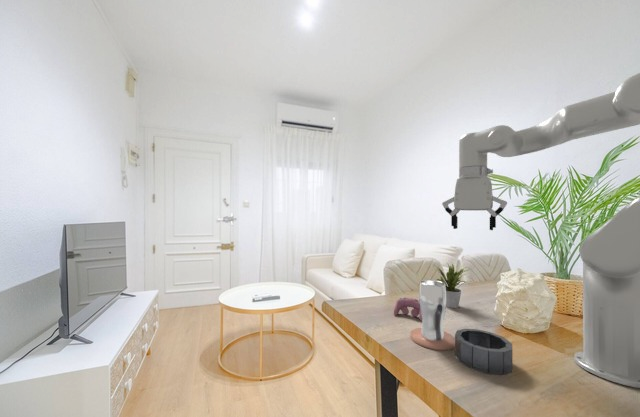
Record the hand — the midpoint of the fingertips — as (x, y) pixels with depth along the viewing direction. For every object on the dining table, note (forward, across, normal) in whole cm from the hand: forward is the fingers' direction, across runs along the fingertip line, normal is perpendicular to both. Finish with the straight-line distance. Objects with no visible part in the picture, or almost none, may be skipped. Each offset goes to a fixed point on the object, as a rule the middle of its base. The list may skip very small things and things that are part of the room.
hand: (472, 229), depth 81 cm
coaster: (+30, +8, +15) cm, 35 cm away
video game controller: (+31, +19, +2) cm, 36 cm away
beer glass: (+30, +8, +15) cm, 34 cm away
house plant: (+31, +8, -18) cm, 36 cm away
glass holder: (+30, -4, +19) cm, 36 cm away
